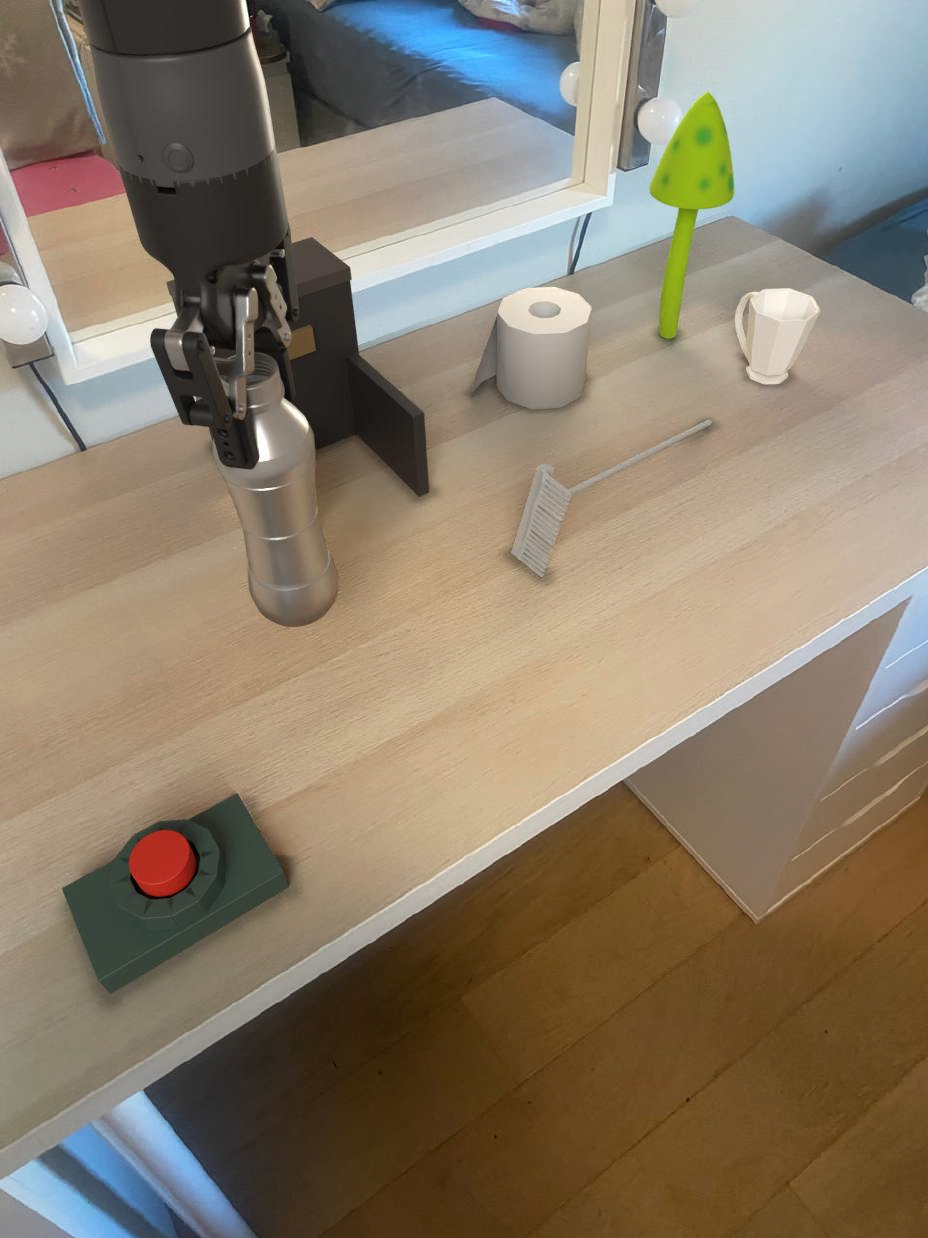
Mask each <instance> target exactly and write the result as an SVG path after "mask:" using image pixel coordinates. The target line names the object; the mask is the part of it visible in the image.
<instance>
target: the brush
mask: <svg viewBox="0 0 928 1238" xmlns="http://www.w3.org/2000/svg"><path fill="white" fill-rule="evenodd" d="M712 423H713V421H712V420H711V418H710V419H706V420H704V421H702V422H700V423H698V424H696V425H694V426H692V427H690V428H688V429H686V430H684V431H682V432H680V433H678V434H676V435H674V436H672V437H670V438H668V439H666V440H664V441H662V442H660V443H658V444H655V445H654V446H652V447H650V448H648V449H645V450H643V451H642V452H639V453H638V454H636V455H634V456H632V457H630V458H628V459H626V460H624V461H622V462H619V463H617V464H615V465H614V466H612V467H610V468H607V469H606V470H604V471H601V472H599V473H598V474H596V475H593V476H592V477H590V478H587V479H586V480H585V479H584V481H582V482H580V483H577V484H575V485H574V486H572V487H570V488H566V487H565V486H564V485H562V484H561V483H560V482H559V481H557V480H556V479H554V478H553V474H554V470H555V468H554V467H553V466H552V465H550V463H546V462H544V463H542V464H540V465H538V466H536V468H535V472H534V476H533V479H532V483H531V486H530V489H529V493H528V496H527V499H526V503H525V505H524V509H523V513H522V515H521V519H520V523H519V525H518V528H517V532H516V535H515V538H514V542H513V545H512V548H511V552H510V553H511V555H513V556H514V557H515V558H516V559H517V560H518V561H521V562H522V563H523V564H524V565H525V566H527V567H528V569H530V570H531V571H533V572H534V573H535V574H537V575H538V576H539V577H540V578H543V577H545V574H544V573H545V572H546V568H547V567H548V565H547V564H549V559H551V556H550V555H552V553H553V552H552V551H553V550H554V547H553V546H555V544H556V542H555V541H557V539H558V538H557V536H559V533H558V532H559V531H561V528H560V527H561V526H562V525H563V524H562V523H561V522H563V521H564V518H563V517H565V516H566V513H565V512H567V510H568V508H567V507H568V506H569V503H568V502H570V501H571V498H570V497H571V496H573V495H575V494H577V493H580V492H581V491H583V490H585V489H587V488H589V487H591V486H593V485H595V484H597V483H599V482H601V481H603V480H605V479H607V478H608V477H611V476H613V475H615V474H617V473H619V472H621V471H623V470H625V469H627V468H628V467H631V466H632V465H634V464H637V463H638V462H641V461H643V460H644V459H646V458H648V457H651V456H653V455H654V454H657V453H658V452H660V451H662V450H664V449H667V448H668V447H670V446H672V445H674V444H676V443H678V442H680V441H682V440H684V439H686V438H688V437H690V436H693V435H694V434H696V433H698V432H700V431H702V430H704V429H706V428H708V427H710V426H711V425H712Z"/></svg>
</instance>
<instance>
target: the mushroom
mask: <svg viewBox="0 0 928 1238" xmlns="http://www.w3.org/2000/svg"><path fill="white" fill-rule="evenodd" d="M734 175H735V174H734V166H733V158H732V152H731V145H730V140H729V135H728V131H727V126H726V123H725V119H724V117H723V113H722V111H721V108H720V106H719V104H718V102H717V100H716V98H715V97H714V96H713V95H712V94H711V93H710V92H709V91H706V92H705V93H704V94H702V95H701V96H700V97H698V98H697V99H696V100H695V101H694V103H693V104H692V105H690V108H689V109H688V110H687V111H686V112H685V114H684V116H683V117H682V119H681V120H680V122H679V124H678V125H677V127H676V129H675V130H674V132H673V134H672V136H671V137H670V139H669V141H668V143H667V145H666V147H665V149H664V151H663V153H662V155H661V157H660V160H659V162H658V164H657V167H656V169H655V171H654V173H653V176H652V179H651V181H650V184H649V190H648V191H649V194H650V195H651V197H652V198H653V199H655V200H656V201H657V202H660V203H661V204H663V205H666V206H670V207H673V208H677V216H676V220H675V225H674V229H673V233H672V239H671V242H670V247H669V251H668V255H667V259H666V265H665V270H664V276H663V281H662V286H661V287H662V288H661V293H660V301H659V302H660V303H659V320H658V321H659V326H658V327H659V333H658V334H659V336H660V337H661V338H664V339H674V338H675V337H677V330H678V324H679V320H680V319H679V318H680V313H681V306H682V302H683V301H682V300H683V294H684V287H685V282H686V281H685V280H686V275H687V269H688V261H689V257H690V252H691V245H692V241H693V237H694V236H693V235H694V231H695V226H696V220H697V218H698V213H699V210H708V209H709V210H711V209H715V208H718V207H722V206H724V205H726V204H729V202H731V201H732V200H733V199H734V196H735V177H734Z"/></svg>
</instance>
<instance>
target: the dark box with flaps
mask: <svg viewBox="0 0 928 1238" xmlns="http://www.w3.org/2000/svg"><path fill="white" fill-rule="evenodd" d="M292 250H293V259H294V268H295V277H296V286H297V295H298V304H299V317H298V320H297V322H289V324H288V325H289V327H290V330H291V336H292V338H291V343H290V345H289V347H286V348H288V354H289V359H290V364H291V370H292V375H293V381H294V386H295V392H296V395H295V397H294V399H293V401H292V404H293V405H294V406H295V407H296V408H297V409H298V410H299V411H300V412H301V413H302V414H303V415H304V416H305V417H306V419H307V421H308V423H309V425H310V427H311V429H312V431H313V433H314V442H315V451H318V450H319V449H322V448H324V447H328V446H330V445H332V444H335V443H337V442H339V441H343V440H345V439H347V438H350V437H352V436H354V435H356V436H357V437H358V438H359V439H360V440H361V441H362V442H363V443H364V444H365V445H366V447H368V448H369V449H370V451H372V452H373V453H374V454H375V455H376V456H377V457H378V458H379V459H380V460H381V461H382V462H383V463H384V464H385V465H386V466H387V467H388V468H389V469H390V470H391V471H392V472H393V473H395V475H396V476H397V477H398V478H399V479H400V480H401V481H402V482H403V483H404V484H405V485H407V487H408V488H409V489H410V490H411V491H412V492H414V494H416V496H417V497H422V496H424V495H427V494H428V493H430V483H429V482H430V481H429V480H430V479H429V467H428V450H427V435H426V433H427V432H426V418H425V412H424V411H423V410H422V409H421V408H420V407H419V406H418V405H417V404H415V403H414V402H413V401H412V400H411V399H410V398H409V397H407V395H405V393H403V392H402V391H401V390H400V389H399V388H397V387H396V385H394V384H393V383H392V382H391V381H390V380H388V378H387V377H385V376H384V375H382V373H381V372H380V371H378V370H377V369H376V368H375V367H374V366H373V365H372V364H370V362H368V361H367V360H366V359H365V358H364V357H363V356H362V355H360V351H359V343H358V342H359V341H358V332H357V325H356V317H355V309H354V299H353V293H352V283H351V281H352V280H353V279H352V271H351V266H350V265H348V264H347V263H346V262H345V261H343V260H342V259H341V258H339V257H338V256H337V255H336V254H334V253H333V252H332V251H330V250H329V249H328V248H327V247H325V246H324V245H323V244H322V243H320V242H319V241H318V240H317V239H315V238H314V237H313V236H310V237H307V238H305V239H301V240H298V241H294V242H292ZM165 283H166V287H167V290H168V294H169V296H170V297H171V299H172V302H173V307H174V310H175V314H176V316H177V317H178V316H179V314H178V312H177V309H176V301H175V284H174V279H171V280H168V281H166V282H165ZM276 285H277V287H278V289H279V291H280V293H281V295H282V297H283V293H282V287H281V286H280V285H279V284H277V283H276ZM177 317H176V318H177ZM254 345H256V344H254ZM234 355H236V350H227V349H217V348H215V354H214V355H213V357H216V358H225V359H227V358H229V357H231V356H234ZM208 431H209V434H210V437H211V441H212V443H213V435H212V431H211V428H210V427H208Z"/></svg>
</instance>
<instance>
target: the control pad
mask: <svg viewBox="0 0 928 1238" xmlns="http://www.w3.org/2000/svg"><path fill="white" fill-rule="evenodd" d="M161 830H171V831H175V832H178V833H180V834H181V835H183V836H184V837H185V838H186V840H187V841H188V843H189V845H190V847H191V849H192V851H193V853H194V855H195V858H196V869H195V872H194V875H193V877H192V879H191V880H190V882H189V883H188V884H187V885H186V886H185V887H184V888H183V889H181V890H180V891H178V892H177V893H175V894H172V895H169V896H164V897H156V896H151V895H149V894H147V893H145V892H144V891H143V890H142V889H141V888H140V887H139V885H138V883H137V882H136V880H135V879H134V877H133V876H132V874H131V872H130V868H129V859H130V855H131V853H132V851H133V849H134V847H135V846H136V845H137V844H138V842H139V841H140V840H142V839H143V838H144V837H146V836H147V835H149V834H151V833H153V832H156V831H161ZM289 887H290V885H289V882H288V880H287V877H286V874H285V872H284V870H283V868H282V866H281V865H280V863H279V861H278V859H277V858H276V856H275V854H274V853H273V851H272V850H271V848H270V846H269V844H268V843H267V841H266V839H265V838H264V836H263V833H262V832H261V830H260V828H259V827H258V825H257V824H256V821H254V818H253V816H252V815H251V813H250V812H249V810H248V808H247V806H246V805H245V803H244V801H243V800H242V798H241V797H240V795H239V793H238V792H236V793H233V794H232V795H230V796H228V797H227V798H225V799H223V800H221V801H219V802H218V803H216V804H214V805H212V806H210V807H208V808H206V809H204V810H203V811H201V812H199V813H197V814H196V815H194V816H192V817H190V818H188V819H187V818H182V819H169V820H159V821H157V822H155V823H153V824H152V825H149V826H147V827H146V828H144V829H142V830H140V831H138V832H136V833H134V835H132V836H131V837H130V839H128V841H127V842H126V843H125V844H124V846H123V847H122V849H121V850H120V851H119V852H118V854H116V856H115V857H114V859H113V860H111V861H110V862H107V863H105V864H103V865H102V866H100V867H98V868H97V869H94V870H93V871H91V872H89V873H87V874H86V875H83V876H82V877H80V878H78V879H76V880H74V881H72V882H71V883H69V884H67V885H65V886H63V887H62V888H61V891H62V893H63V896H64V899H65V900H66V903H67V906H68V908H69V911H70V914H71V916H72V919H73V921H74V924H75V926H76V929H77V931H78V933H79V936H80V938H81V941H82V943H83V946H84V948H85V951H86V953H87V956H88V959H89V961H90V963H91V967H92V968H93V971H94V974H95V976H96V978H97V979H96V980H97V981H98V982H99V984H100V985H101V986H102V987H103V988H104V989H105V990H106V991H107V992H108V994H110V995H111V994H113V993H115V992H116V991H118V990H120V989H122V988H123V987H125V986H126V985H128V984H130V983H132V982H133V981H135V980H137V979H138V978H140V977H141V976H143V975H145V974H147V973H149V972H150V971H152V970H153V969H156V967H158V966H160V965H162V964H163V963H165V962H167V961H168V960H170V959H172V958H173V957H174V956H177V955H178V954H180V953H181V952H183V951H185V950H187V949H188V948H190V947H191V946H193V945H195V944H197V943H198V942H200V941H201V940H203V939H205V938H207V937H208V936H210V935H212V934H213V933H215V932H216V931H218V930H220V929H222V928H223V927H225V926H227V925H228V924H230V923H231V922H233V921H235V920H237V919H238V918H240V917H241V916H244V915H245V914H247V913H248V912H250V911H252V910H253V909H256V908H257V907H259V906H260V905H262V904H263V903H265V902H267V901H269V900H270V899H271V898H274V897H275V896H276V895H278V894H280V893H281V892H283V891H285V890H286V889H289Z"/></svg>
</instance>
